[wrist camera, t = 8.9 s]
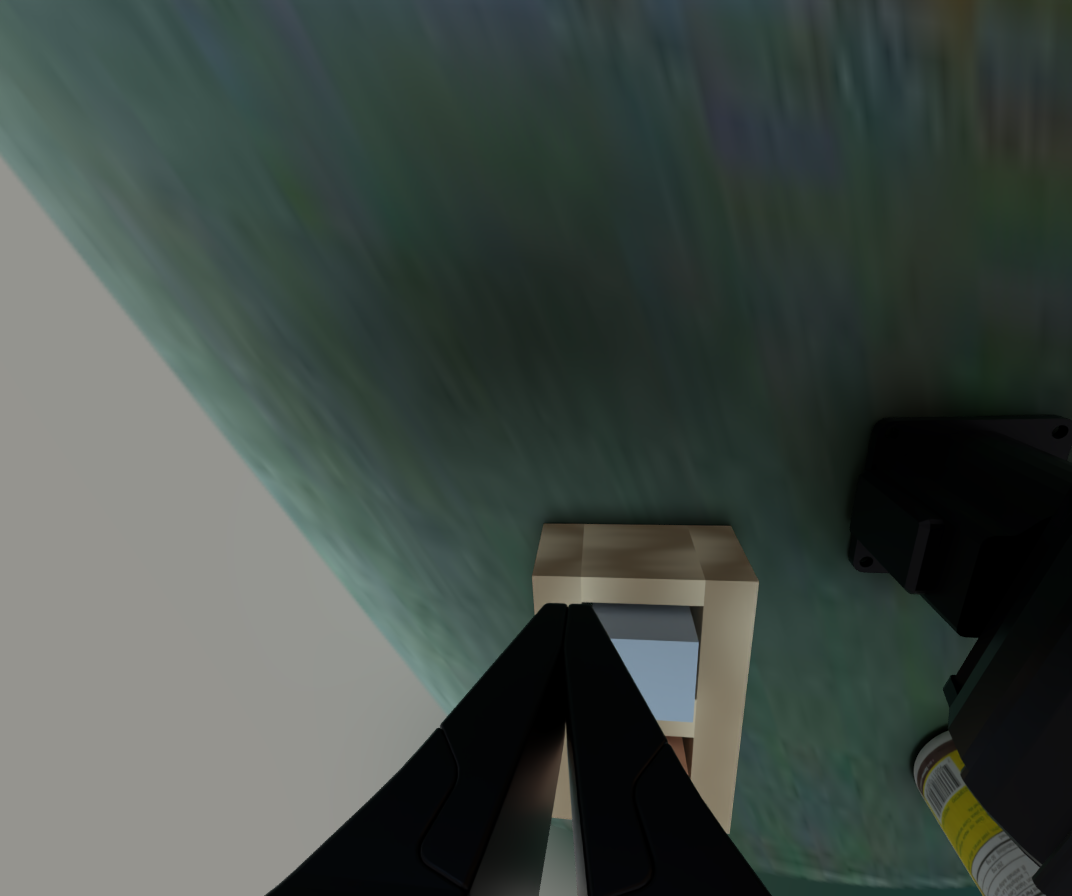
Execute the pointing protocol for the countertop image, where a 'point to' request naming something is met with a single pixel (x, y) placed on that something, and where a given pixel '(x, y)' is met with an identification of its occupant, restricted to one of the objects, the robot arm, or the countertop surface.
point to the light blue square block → (656, 653)
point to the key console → (668, 579)
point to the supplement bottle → (971, 824)
